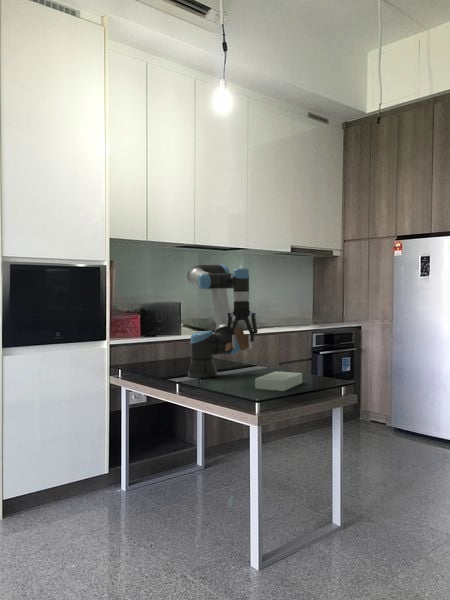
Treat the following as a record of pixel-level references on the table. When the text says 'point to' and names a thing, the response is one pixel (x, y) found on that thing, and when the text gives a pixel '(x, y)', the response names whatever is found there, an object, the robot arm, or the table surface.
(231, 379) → the table surface
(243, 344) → the wooden block set
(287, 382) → the sage base block
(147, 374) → the table surface
